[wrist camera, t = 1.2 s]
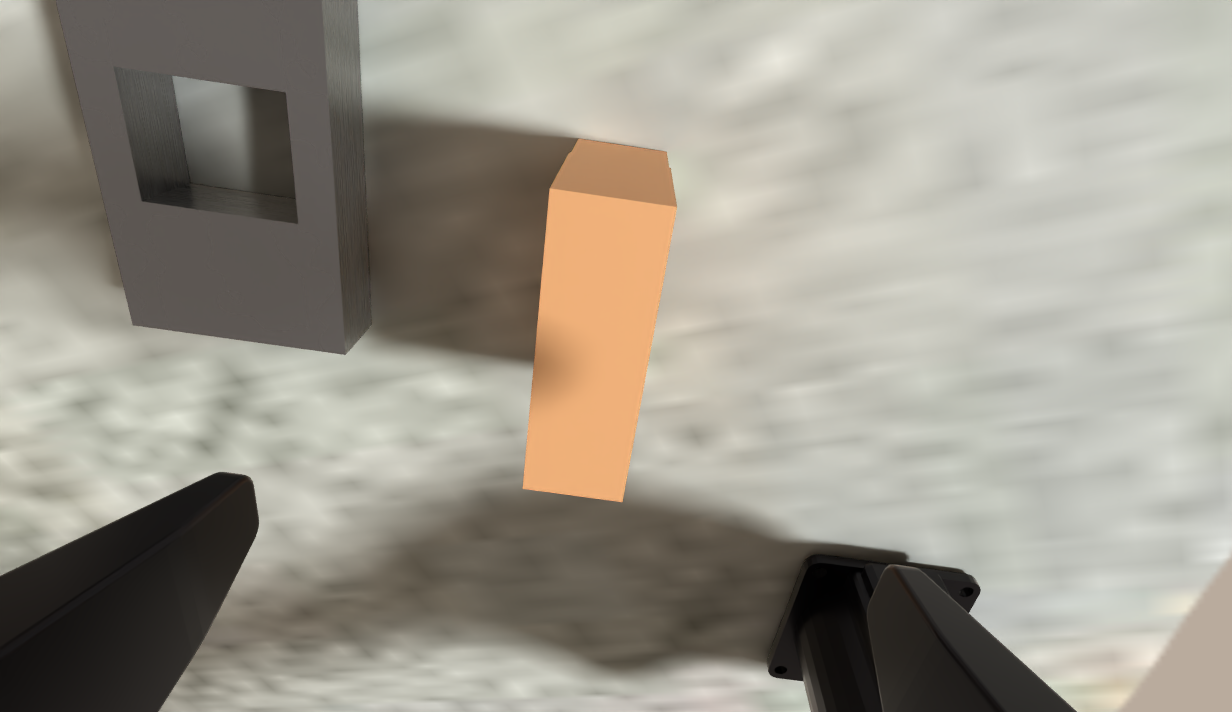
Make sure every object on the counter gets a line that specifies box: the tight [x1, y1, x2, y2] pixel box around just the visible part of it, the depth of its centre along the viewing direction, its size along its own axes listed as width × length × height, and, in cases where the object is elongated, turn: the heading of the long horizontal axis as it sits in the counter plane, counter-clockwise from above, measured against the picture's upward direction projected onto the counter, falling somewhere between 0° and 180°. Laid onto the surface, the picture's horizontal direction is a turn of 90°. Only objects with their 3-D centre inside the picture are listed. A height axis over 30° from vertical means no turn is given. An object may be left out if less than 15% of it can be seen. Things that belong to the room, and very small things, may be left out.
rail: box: [56, 0, 372, 355], centre depth 16 cm, size 16×6×2 cm, turn 172°
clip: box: [523, 139, 677, 502], centre depth 16 cm, size 7×2×6 cm, turn 172°
